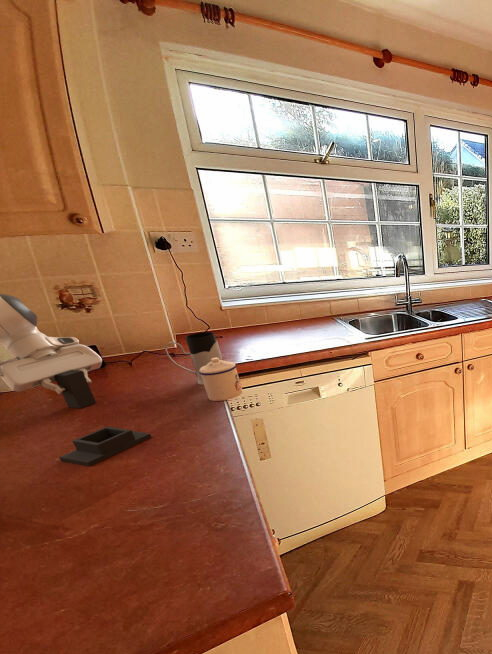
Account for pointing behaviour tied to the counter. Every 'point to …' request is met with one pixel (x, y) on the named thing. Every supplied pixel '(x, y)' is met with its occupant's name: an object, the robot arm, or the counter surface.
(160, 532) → the counter surface
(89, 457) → the base pad
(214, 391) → the teacup with lid
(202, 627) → the counter surface
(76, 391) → the dark grey rectangular block
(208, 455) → the counter surface
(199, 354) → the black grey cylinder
